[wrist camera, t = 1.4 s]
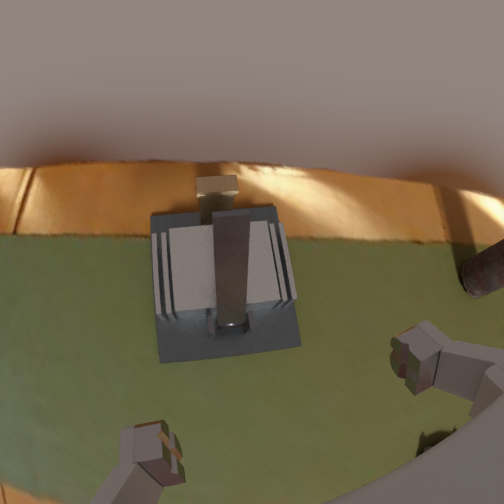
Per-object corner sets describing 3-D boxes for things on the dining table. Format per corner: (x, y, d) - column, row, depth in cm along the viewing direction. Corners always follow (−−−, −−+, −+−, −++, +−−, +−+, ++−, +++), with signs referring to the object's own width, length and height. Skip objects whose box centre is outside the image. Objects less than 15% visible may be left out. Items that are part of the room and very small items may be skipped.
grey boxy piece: (161, 363, 38) (147, 361, 29) (151, 219, 45) (139, 182, 35) (299, 346, 41) (324, 339, 32) (274, 209, 48) (289, 172, 39)
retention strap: (244, 320, 36) (246, 328, 35) (216, 323, 35) (217, 331, 34) (249, 208, 26) (252, 215, 26) (210, 210, 26) (211, 219, 25)
